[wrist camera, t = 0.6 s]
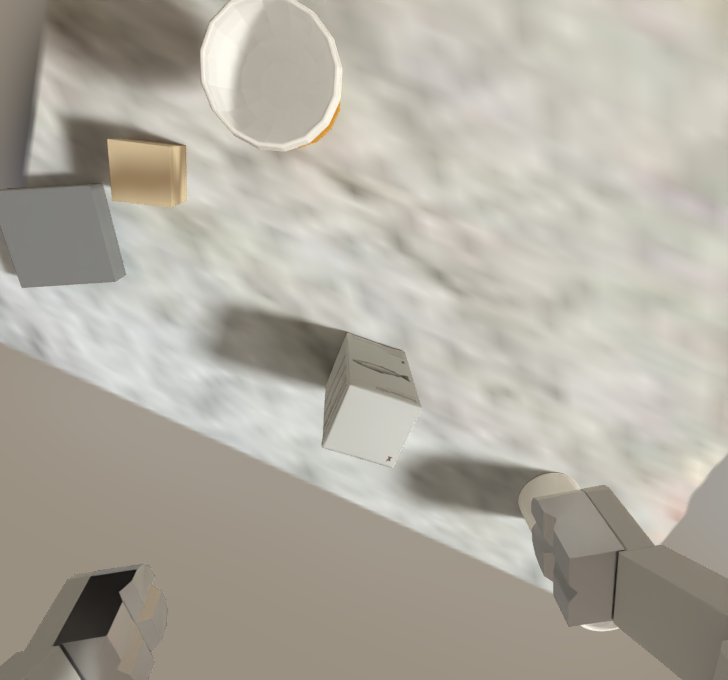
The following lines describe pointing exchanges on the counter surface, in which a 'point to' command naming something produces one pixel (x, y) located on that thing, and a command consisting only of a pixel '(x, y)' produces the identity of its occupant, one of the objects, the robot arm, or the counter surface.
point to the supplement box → (369, 402)
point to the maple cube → (147, 172)
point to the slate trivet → (60, 235)
